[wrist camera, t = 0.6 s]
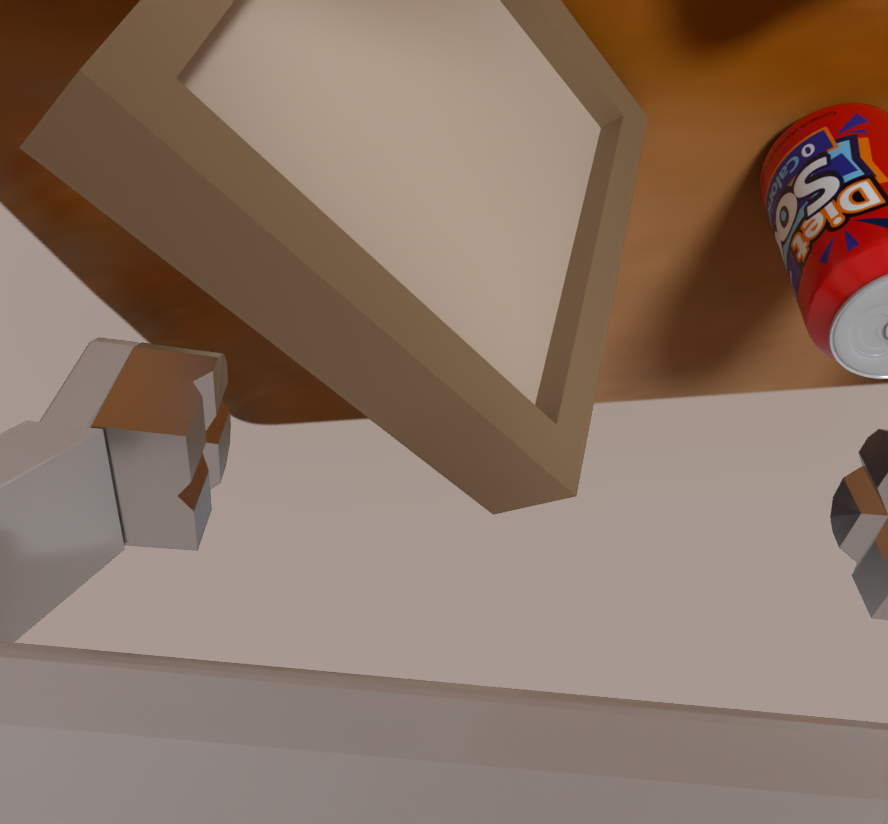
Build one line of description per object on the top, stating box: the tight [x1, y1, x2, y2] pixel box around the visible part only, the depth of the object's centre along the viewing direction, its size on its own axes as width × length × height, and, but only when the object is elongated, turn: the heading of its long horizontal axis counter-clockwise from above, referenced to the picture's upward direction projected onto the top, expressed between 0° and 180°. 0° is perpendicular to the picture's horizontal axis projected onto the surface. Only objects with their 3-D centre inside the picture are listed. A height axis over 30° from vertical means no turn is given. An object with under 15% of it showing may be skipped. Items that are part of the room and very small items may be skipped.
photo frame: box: [19, 0, 648, 514], centre depth 36 cm, size 15×22×25 cm
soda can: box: [760, 103, 888, 379], centre depth 43 cm, size 8×8×15 cm
